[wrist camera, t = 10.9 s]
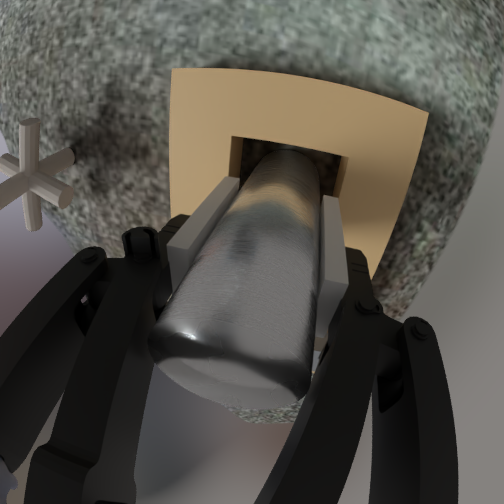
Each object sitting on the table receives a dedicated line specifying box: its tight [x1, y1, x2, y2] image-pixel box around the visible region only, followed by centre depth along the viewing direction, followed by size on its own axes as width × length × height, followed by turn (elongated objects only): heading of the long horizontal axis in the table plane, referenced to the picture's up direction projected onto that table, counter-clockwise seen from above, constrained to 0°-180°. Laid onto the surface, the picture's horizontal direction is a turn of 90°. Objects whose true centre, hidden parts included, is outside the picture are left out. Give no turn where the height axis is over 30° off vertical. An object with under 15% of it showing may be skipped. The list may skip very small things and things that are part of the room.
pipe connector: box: [0, 118, 75, 232], centre depth 16 cm, size 10×10×10 cm
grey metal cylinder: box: [147, 150, 320, 409], centre depth 12 cm, size 4×4×14 cm
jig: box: [169, 68, 429, 373], centre depth 19 cm, size 24×14×5 cm, turn 174°
